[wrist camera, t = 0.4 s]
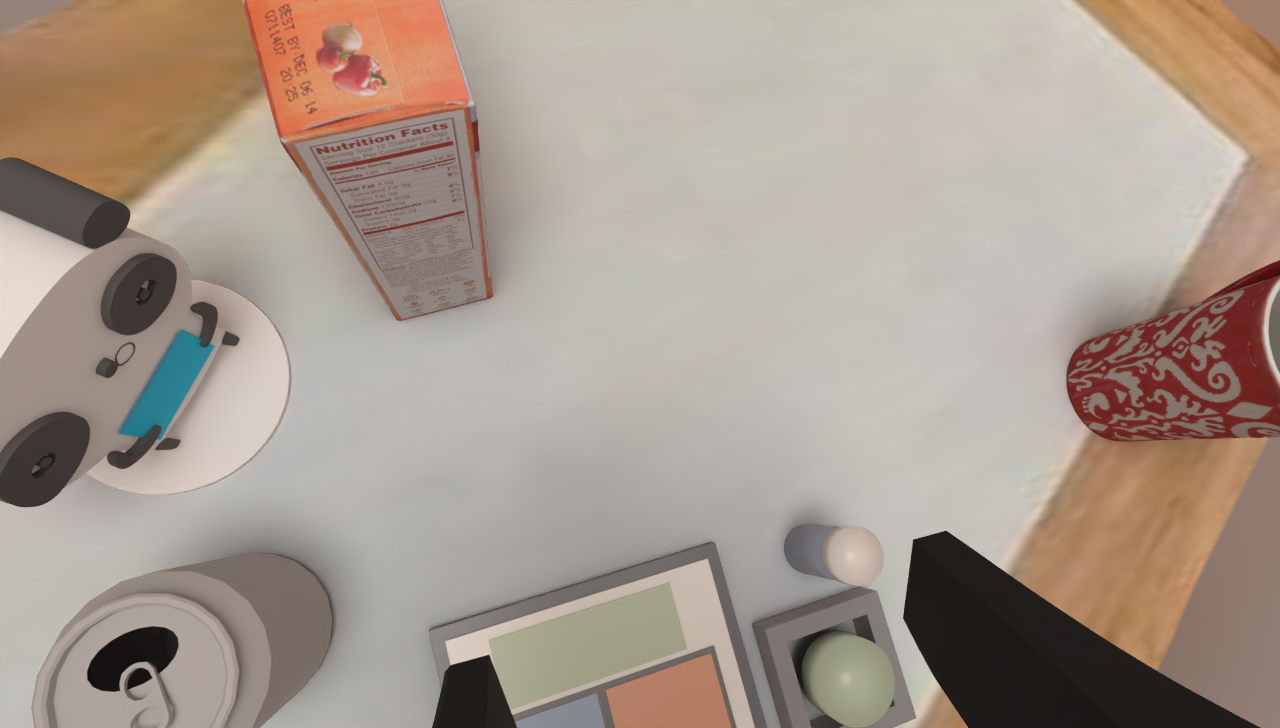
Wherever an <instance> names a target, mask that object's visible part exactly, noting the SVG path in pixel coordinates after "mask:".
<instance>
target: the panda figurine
mask: <svg viewBox="0 0 1280 728" xmlns="http://www.w3.org/2000/svg"><path fill="white" fill-rule="evenodd" d="M129 219H130V211H129V209H128V208H127V207H126V206H125V205H124V204H122V203H120V202H118V201H116V200H113V199H111V198H109V197H107V196H104V195H102V194H100V193H97V192H95V191H93V190H90V189H88V188H86V187H84V186H81V185H79V184H77V183H74V182H72V181H70V180H67V179H65V178H63V177H61V176H58V175H56V174H54V173H51V172H49V171H47V170H44V169H42V168H40V167H38V166H35V165H33V164H31V163H28V162H26V161H24V160H21V159H18V158H12V157H11V158H4V159H1V160H0V501H2V502H5V503H9V504H12V505H15V506H19V507H35V506H39V505H43V504H45V503H47V502H49V501H50V500H52V499H53V498H54V497H55V496H57V495H58V494H59V493H60V491H61V490H62V489H63V488H65V487H66V486H68V485H69V484H71V483H72V482H74V481H75V480H77V479H78V478H80V477H81V476H82V475H84V474H85V473H86V474H88V475H89V476H91V477H93V478H94V479H96V480H98V481H100V482H102V483H104V484H106V485H109V486H111V487H114V488H117V489H120V490H124V491H129V492H133V493H141V494H175V493H183V492H187V491H192V490H196V489H199V488H202V487H206V486H208V485H211V484H213V483H216V482H218V481H220V480H222V479H224V478H226V477H228V476H230V475H231V474H233V473H234V472H236V471H237V470H239V469H241V468H242V467H243V466H244V465H246V464H247V463H248V462H249V461H251V460H252V459H253V458H254V457H255V456H256V455H257V454H258V453H259V452H260V451H261V450H262V449H263V448H264V446H265V445H266V444H267V443H268V441H269V440H270V439H271V437H272V436H273V434H274V433H275V431H276V429H277V428H278V426H279V424H280V422H281V420H282V417H283V415H284V412H285V410H286V407H287V403H288V399H289V393H290V385H291V372H290V363H289V357H288V354H287V350H286V347H285V345H284V342H283V340H282V338H281V336H280V334H279V332H278V331H277V329H276V328H275V326H274V325H273V323H272V322H271V321H270V319H269V318H268V317H267V316H266V315H265V314H264V313H263V312H262V311H261V310H260V309H259V308H258V307H256V306H255V305H254V304H253V303H251V302H250V301H249V300H247V299H246V298H244V297H243V296H241V295H239V294H238V293H236V292H234V291H232V290H229V289H227V288H225V287H222V286H219V285H216V284H213V283H209V282H205V281H199V280H191V276H190V272H189V269H188V266H187V264H186V262H185V260H184V259H183V257H182V256H181V255H180V253H179V252H178V251H176V250H175V249H174V248H172V247H170V246H169V245H166V244H164V243H162V242H159V241H157V240H155V239H153V238H150V237H148V236H146V235H143V234H141V233H139V232H136V231H134V230H132V229H129V228H127V225H128V222H129Z"/></svg>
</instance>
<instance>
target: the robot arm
mask: <svg viewBox="0 0 1280 728" xmlns="http://www.w3.org/2000/svg"><path fill="white" fill-rule="evenodd" d="M903 619H904V621H905V623H906V625H907V627H908V629H909V630H910V632H911V634H912V636H913V638H914V640H915V642H916V644H917V646H918V648H919V650H920V652H921V654H922V655H923V657H924V659H925V661H926V663H927V665H928V666H929V668H930V670H931V672H932V674H933V676H934V677H935V679H936V680H937V682H938V683H939V685H940V686H941V688H942V689H943V691H944V692H945V694H946V695H947V697H948V698H949V700H950V701H951V703H952V704H953V706H954V707H955V709H956V710H957V712H958V713H959V715H960V716H961V718H962V719H963V720H964V722H965V723H966V725H967V726H968V728H1260V727H1258V726H1256V725H1254V724H1252V723H1250V722H1248V721H1246V720H1245V719H1242V718H1241V717H1239V716H1237V715H1235V714H1233V713H1232V712H1230V711H1228V710H1226V709H1224V708H1222V707H1220V706H1219V705H1216V704H1215V703H1213V702H1211V701H1209V700H1207V699H1206V698H1204V697H1202V696H1200V695H1198V694H1196V693H1194V692H1193V691H1191V690H1189V689H1187V688H1185V687H1184V686H1182V685H1180V684H1178V683H1177V682H1175V681H1173V680H1171V679H1170V678H1168V677H1166V676H1164V675H1163V674H1161V673H1159V672H1158V671H1156V670H1154V669H1153V668H1151V667H1149V666H1148V665H1146V664H1145V663H1143V662H1141V661H1140V660H1138V659H1136V658H1135V657H1133V656H1131V655H1130V654H1128V653H1126V652H1125V651H1123V650H1121V649H1120V648H1118V647H1117V646H1115V645H1113V644H1112V643H1110V642H1109V641H1107V640H1106V639H1104V638H1102V637H1101V636H1099V635H1098V634H1096V633H1095V632H1093V631H1092V630H1090V629H1089V628H1087V627H1085V626H1084V625H1082V624H1081V623H1079V622H1078V621H1076V620H1075V619H1073V618H1072V617H1070V616H1069V615H1067V614H1066V613H1064V612H1063V611H1061V610H1060V609H1058V608H1057V607H1055V606H1054V605H1052V604H1051V603H1049V602H1048V601H1046V600H1045V599H1043V598H1042V597H1040V596H1039V595H1038V594H1036V593H1035V592H1033V591H1032V590H1030V589H1029V588H1027V587H1026V586H1024V585H1023V584H1022V583H1020V582H1019V581H1017V580H1016V579H1014V578H1013V577H1012V576H1010V575H1009V574H1007V573H1006V572H1004V571H1003V570H1002V569H1000V568H999V567H997V566H996V565H994V564H993V563H992V562H990V561H989V560H987V559H986V558H985V557H983V556H982V555H980V554H979V553H977V552H976V551H975V550H973V549H972V548H970V547H969V546H968V545H966V544H965V543H963V542H962V541H960V540H959V539H957V538H956V537H955V536H953V535H952V534H950V533H949V532H947V531H944V532H940V533H936V534H932V535H929V536H925V537H921V538H918V539H914V540H913V546H912V554H911V561H910V569H909V577H908V584H907V592H906V600H905V607H904V615H903ZM432 728H517V726H516V723H515V721H514V718H513V715H512V713H511V710H510V708H509V705H508V702H507V700H506V697H505V694H504V692H503V689H502V687H501V684H500V681H499V679H498V676H497V673H496V671H495V668H494V666H493V663H492V660H491V658H490V655H486V656H482V657H479V658H475V659H471V660H468V661H464V662H460V663H456V664H453V665H450V666H449V667H448V669H447V670H446V671H445V674H444V679H443V684H442V689H441V694H440V698H439V702H438V706H437V711H436V715H435V719H434V723H433V726H432Z"/></svg>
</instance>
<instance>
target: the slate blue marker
mask: <svg viewBox="0 0 1280 728" xmlns="http://www.w3.org/2000/svg"><path fill="white" fill-rule="evenodd" d="M784 550H785V556H786V558H787V561H788V562H789V564H790V565H791V566H792V567H793V568H794V569H795V570H797V571H799V572H802V573H806V574H810V575H814V576H819V577H823V578H828V579H832V580H836V581H839V582H841V583H845V584H849V585H854V586H863V585H867V584H869V583H871V582H872V581H874V580H875V579H876V578H877V577H878V575H879V574H880V572H881V569H882V566H883V560H884V555H883V550H882V546H881V544H880V542H879V540H878V539H877V537H876V536H875V535H874V534H873V533H872V532H870V531H869V530H867V529H865V528H861V527H852V526H843V527H836V526H821V525H800V526H797V527H795V528H794V529H792V530H791V531H790V533H789V534H788V536H787V538H786V540H785V546H784Z"/></svg>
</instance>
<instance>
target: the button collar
mask: <svg viewBox="0 0 1280 728" xmlns="http://www.w3.org/2000/svg"><path fill="white" fill-rule="evenodd" d="M852 619H853V621H854V624H855V628H856V631H857V634H858V636H859V637H862V638H864V639H867V640H869V641H871V642H873V643H875V644H876V645H878V646H879V647H880V648H881V649H882V650H883V651H884V652H885V654H886V655H887V657H888V658H889V660H890V662H891V665H892V667H893V671H894V676H895V691H894V696H893V699H892V702H891V705H890V707H889V708H888V710H887V712H886V713H885V714H884V715H883V716H882V717H881V718H880V719H879V720H878V721H876V722H875V723H873V724H871V725H869V726H866V727H860V728H893V727H895V726H898V725H900V724H903V723H905V722H908V721H910V720H913V719H915V718H916V715H915V712H914V709H913V705H912V702H911V699H910V696H909V692H908V689H907V686H906V683H905V680H904V676H903V673H902V670H901V667H900V664H899V660H898V657H897V654H896V651H895V648H894V644H893V641H892V638H891V635H890V631H889V628H888V625H887V622H886V619H885V615H884V612H883V609H882V606H881V603H880V599H879V596H878V593H877V591H875V590H871V589H867V588H862V587H857V588H855V589H852V590H849V591H846V592H843V593H840V594H837V595H834V596H831V597H828V598H826V599H823V600H820V601H817V602H814V603H811V604H808V605H805V606H802V607H799V608H796V609H794V610H791V611H788V612H785V613H782V614H779V615H776V616H773V617H770V618H767V619H765V620H762V621H759V622H756V623H753V624H752V625H753V628H754V632H755V635H756V639H757V642H758V646H759V649H760V653H761V656H762V660H763V663H764V667H765V670H766V674H767V677H768V681H769V685H770V688H771V692H772V695H773V699H774V702H775V706H776V709H777V713H778V716H779V720H780V723H781V727H782V728H854V727H849V726H845V725H843V724H841V723H839V722H837V721H836V720H834V719H833V718H831V717H830V716H828V715H826V716H823V717H821V718H818V719H816V720H813V721H809V717H808V714H807V710H806V707H805V703H804V700H803V696H802V693H801V690H800V686H799V683H798V679H797V676H796V672H795V669H794V665H793V662H792V658H791V655H790V652H789V648H788V645H787V642H790V641H793V640H796V639H798V638H801V637H804V636H807V635H810V634H813V633H815V632H818V631H821V630H824V629H827V628H829V627H832V626H835V625H838V624H841V623H843V622H846V621H849V620H852Z"/></svg>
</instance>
